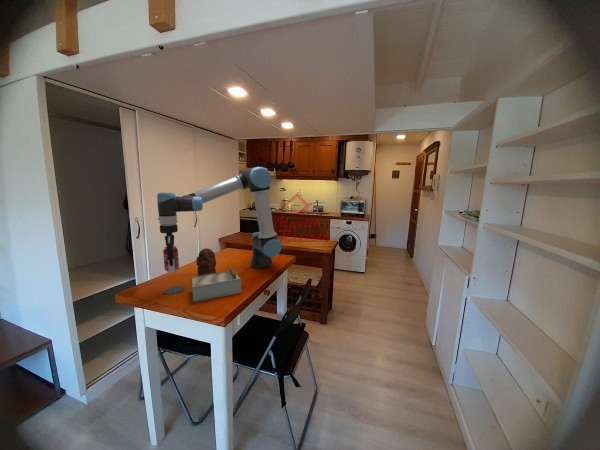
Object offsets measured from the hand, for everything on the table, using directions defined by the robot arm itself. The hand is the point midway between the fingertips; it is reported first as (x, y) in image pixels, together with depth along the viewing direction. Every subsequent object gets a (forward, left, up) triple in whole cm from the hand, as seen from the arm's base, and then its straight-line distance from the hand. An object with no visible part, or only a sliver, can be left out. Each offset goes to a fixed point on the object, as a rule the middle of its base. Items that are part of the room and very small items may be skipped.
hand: (172, 269), depth 112 cm
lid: (-19, +11, -5) cm, 23 cm away
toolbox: (-19, +11, -12) cm, 25 cm away
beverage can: (0, 0, -1) cm, 1 cm away
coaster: (0, 0, -12) cm, 12 cm away
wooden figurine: (-17, -9, -12) cm, 23 cm away
